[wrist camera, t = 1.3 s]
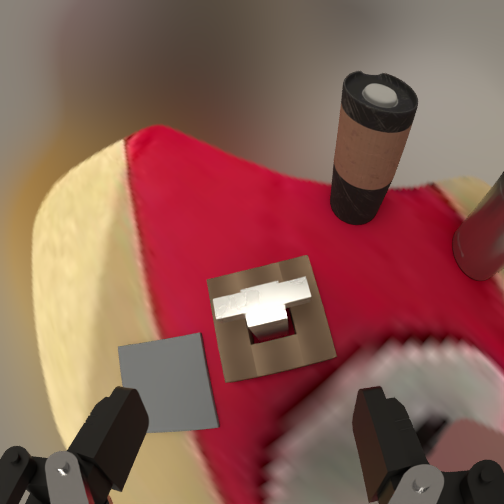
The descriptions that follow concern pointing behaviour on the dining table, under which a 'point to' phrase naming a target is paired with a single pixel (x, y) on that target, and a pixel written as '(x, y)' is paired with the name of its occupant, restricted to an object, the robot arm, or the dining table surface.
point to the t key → (264, 306)
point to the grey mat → (171, 382)
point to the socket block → (279, 350)
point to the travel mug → (369, 143)
